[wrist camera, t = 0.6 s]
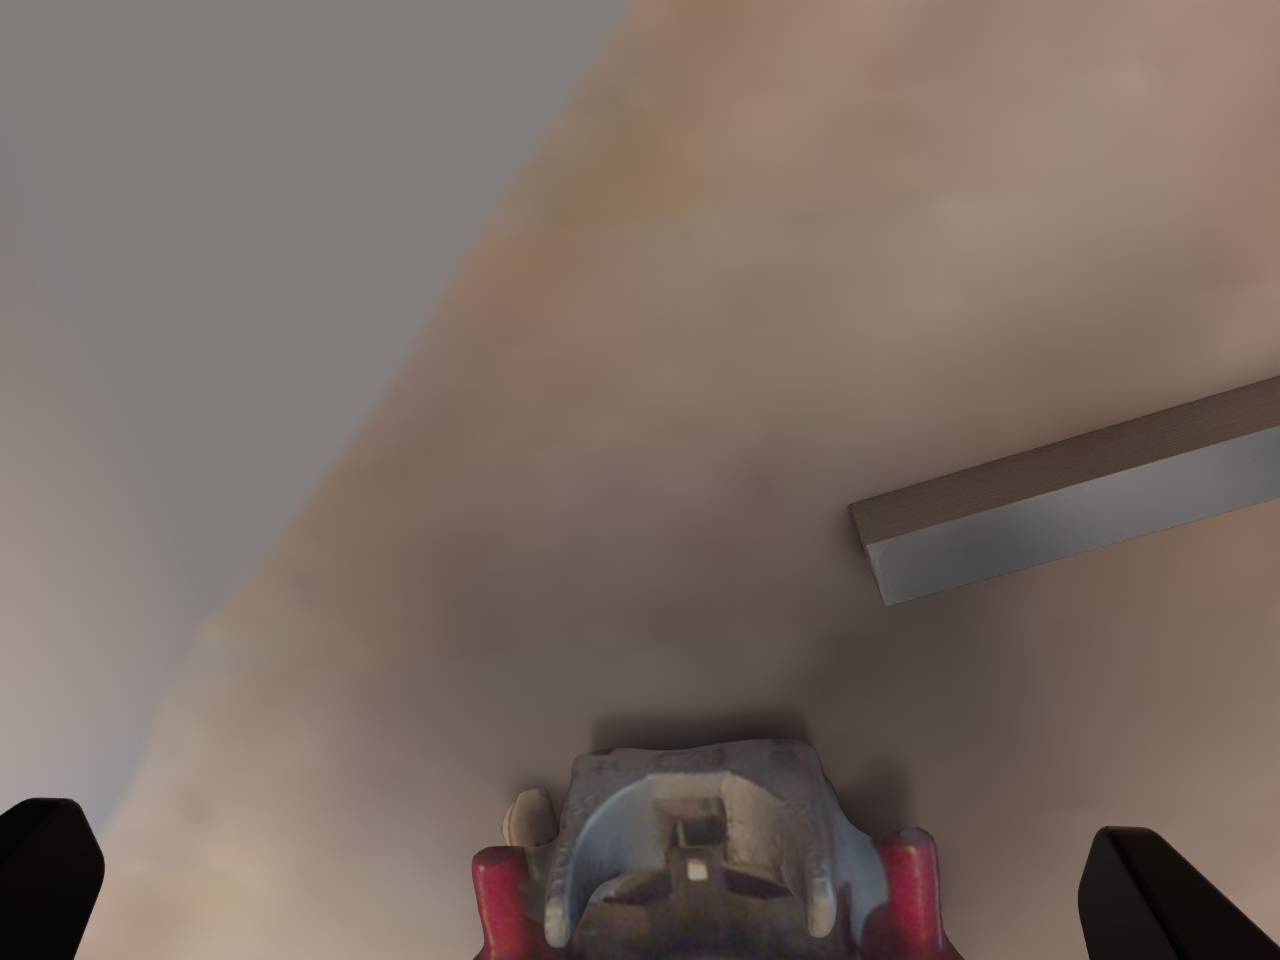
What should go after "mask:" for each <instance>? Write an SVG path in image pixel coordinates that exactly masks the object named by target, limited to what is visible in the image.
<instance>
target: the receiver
mask: <svg viewBox="0 0 1280 960" xmlns="http://www.w3.org/2000/svg"><path fill="white" fill-rule="evenodd" d="M1276 498H1280V376H1278V377H1275V378H1271V379H1268V380H1265V381H1261V382H1258V383H1255V384H1251V385H1248V386H1245V387H1241V388H1238V389H1235V390H1231V391H1228V392H1225V393H1221V394H1218V395H1215V396H1211V397H1208V398H1205V399H1201V400H1198V401H1194V402H1191V403H1188V404H1184V405H1181V406H1178V407H1174V408H1171V409H1168V410H1164V411H1161V412H1158V413H1154V414H1151V415H1148V416H1144V417H1141V418H1138V419H1134V420H1131V421H1128V422H1124V423H1121V424H1118V425H1114V426H1111V427H1108V428H1104V429H1101V430H1098V431H1094V432H1091V433H1087V434H1084V435H1081V436H1077V437H1074V438H1071V439H1067V440H1064V441H1061V442H1057V443H1054V444H1051V445H1047V446H1044V447H1041V448H1037V449H1034V450H1031V451H1027V452H1024V453H1021V454H1017V455H1014V456H1011V457H1007V458H1004V459H1001V460H997V461H994V462H990V463H987V464H984V465H980V466H977V467H974V468H970V469H967V470H964V471H960V472H957V473H954V474H950V475H947V476H944V477H940V478H937V479H934V480H930V481H927V482H924V483H920V484H917V485H914V486H910V487H907V488H904V489H900V490H897V491H894V492H890V493H887V494H883V495H880V496H877V497H873V498H870V499H867V500H863V501H860V502H857V503H853V504H850V505H849V506H850V509H851V512H852V515H853V518H854V522H855V525H856V528H857V531H858V534H859V538H860V541H861V544H862V547H863V550H864V553H865V557H866V559H867V562H868V564H869V567H870V569H871V572H872V575H873V577H874V580H875V582H876V585H877V587H878V590H879V592H880V595H881V597H882V600H883V603H884V605H885V607H888V606H892V605H895V604H899V603H902V602H906V601H910V600H913V599H917V598H920V597H924V596H928V595H931V594H935V593H938V592H942V591H946V590H949V589H953V588H956V587H960V586H964V585H967V584H971V583H974V582H978V581H982V580H985V579H989V578H992V577H996V576H1000V575H1003V574H1007V573H1010V572H1014V571H1017V570H1021V569H1025V568H1028V567H1032V566H1035V565H1039V564H1043V563H1046V562H1050V561H1053V560H1057V559H1061V558H1064V557H1068V556H1071V555H1075V554H1079V553H1082V552H1086V551H1089V550H1093V549H1097V548H1100V547H1104V546H1107V545H1111V544H1115V543H1118V542H1122V541H1125V540H1129V539H1133V538H1136V537H1140V536H1143V535H1147V534H1150V533H1154V532H1158V531H1161V530H1165V529H1168V528H1172V527H1176V526H1179V525H1183V524H1186V523H1190V522H1194V521H1197V520H1201V519H1204V518H1208V517H1212V516H1215V515H1219V514H1222V513H1226V512H1230V511H1233V510H1237V509H1240V508H1244V507H1248V506H1251V505H1255V504H1258V503H1262V502H1266V501H1269V500H1273V499H1276Z"/></svg>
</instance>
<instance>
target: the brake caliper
mask: <svg viewBox="0 0 1280 960" xmlns="http://www.w3.org/2000/svg"><path fill="white" fill-rule="evenodd" d="M502 833H503V836H504V838H505V840H506V843H507V846H495V847H487V848H485V849H483V850H481V851H479V852H478V853H477V854H476V855H475V856H474V857H473V861H472V876H473V883H474V888H475V893H476V897H477V905H478V911H479V914H480V918H481V922H482V926H483V932H484V946H483V948H482V950H481V951H480V952H479V954H478V955H477V956H476V957H475V958H474V959H473V960H964V958H963V957H962V956H961V955H960V954H959V953H958V952H957V951H956V949H955V948H954V946H953V945H952V944H951V942H950V941H949V939H948V938H947V936H946V934H945V932H944V928H943V923H942V917H941V908H940V877H939V866H938V857H937V850H936V845H935V842H934V839H933V837H932V836H931V835H930V834H929V833H928V832H927V831H925V830H922V829H920V828H905V829H901V830H899V831H897V832H893V833H890V834H888V835H885V836H881V837H872V836H869V835H867V834H865V833H863V832H861V831H859V830H858V829H857V828H855V827H854V826H853V825H852V824H851V823H850V822H849V821H848V820H847V818H846V817H845V815H844V814H843V812H842V810H841V808H840V805H839V803H838V800H837V796H836V793H835V791H834V789H833V787H832V785H831V784H830V782H829V781H828V780H827V779H826V778H825V777H824V776H823V773H822V769H821V765H820V761H819V758H818V756H817V753H816V751H815V749H814V748H813V747H812V746H811V745H809V744H808V743H806V742H804V741H802V740H798V739H791V738H776V739H751V740H741V741H733V742H725V743H719V744H713V745H707V746H701V747H696V748H690V749H680V750H645V749H637V748H615V749H607V750H599V751H595V752H591V753H587V754H584V755H581V756H579V757H578V758H576V759H575V760H574V762H573V766H572V771H571V782H570V787H569V791H568V794H567V798H566V801H565V804H564V808H563V811H562V815H561V820H560V832H559V830H558V827H557V824H556V820H555V816H554V812H553V807H552V804H551V801H550V797H549V794H548V792H547V791H546V790H544V789H534V790H528V791H524V792H522V793H520V795H519V796H518V797H517V799H516V801H515V802H514V803H513V804H512V805H511V806H510V808H509V809H508V810H507V812H506V813H505V816H504V819H503V823H502Z"/></svg>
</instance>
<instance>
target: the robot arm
mask: <svg viewBox="0 0 1280 960" xmlns="http://www.w3.org/2000/svg"><path fill="white" fill-rule="evenodd" d="M104 873H105V862H104V856H103V853H102V851H101V849H100V847H99V845H98V842H97V840H96V838H95V836H94V834H93V832H92V829H91V827H90V825H89V823H88V821H87V819H86V816H85V815H84V812H83V810H82V808H81V807H80V805H79V804H78V803H77V802H75V801H73V800H72V799H67V798H30V799H27V800H24V801H22V802H20V803H18V804H17V805H15V806H13V807H12V808H11V809H9V810H8V811H6V812H5V813H3V814H2V815H0V960H74V957H75V955H76V952H77V949H78V947H79V944H80V942H81V939H82V936H83V934H84V931H85V929H86V926H87V923H88V921H89V918H90V915H91V913H92V910H93V908H94V905H95V902H96V900H97V897H98V894H99V892H100V889H101V886H102V883H103V878H104ZM1078 908H1079V915H1080V920H1081V925H1082V929H1083V933H1084V937H1085V942H1086V946H1087V950H1088V955H1089V959H1090V960H1280V947H1279V946H1278V945H1277V944H1276V943H1275V942H1274V941H1273V940H1272V939H1271V938H1270V937H1268V936H1267V935H1266V934H1265V933H1264V932H1263V931H1262V930H1261V929H1260V928H1259V927H1258V926H1257V925H1256V924H1255V923H1253V922H1252V921H1251V920H1250V919H1249V918H1248V917H1247V916H1246V915H1245V914H1244V913H1243V912H1242V911H1241V910H1240V909H1238V908H1237V907H1236V906H1235V905H1234V904H1233V903H1232V902H1231V901H1230V900H1229V899H1228V898H1227V897H1226V896H1225V895H1223V894H1222V893H1221V892H1220V891H1219V890H1218V889H1217V888H1216V887H1215V886H1214V885H1213V884H1212V883H1211V882H1210V881H1208V880H1207V879H1206V878H1205V877H1204V876H1203V875H1202V874H1201V873H1200V872H1199V871H1198V870H1197V869H1196V868H1195V867H1193V866H1192V865H1191V864H1190V863H1189V862H1188V861H1187V860H1186V859H1185V858H1184V857H1183V856H1182V855H1181V854H1180V853H1178V852H1177V851H1176V850H1175V849H1174V848H1173V847H1172V846H1171V845H1170V844H1169V843H1168V842H1167V841H1166V840H1165V839H1164V838H1162V837H1161V836H1160V835H1159V834H1158V833H1156V832H1154V831H1153V830H1151V829H1148V828H1144V827H1122V826H1106V827H1102V828H1101V829H1100V830H1099V831H1098V832H1097V833H1096V835H1095V837H1094V840H1093V843H1092V846H1091V849H1090V853H1089V856H1088V859H1087V862H1086V865H1085V869H1084V872H1083V875H1082V878H1081V881H1080V885H1079V889H1078Z"/></svg>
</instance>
